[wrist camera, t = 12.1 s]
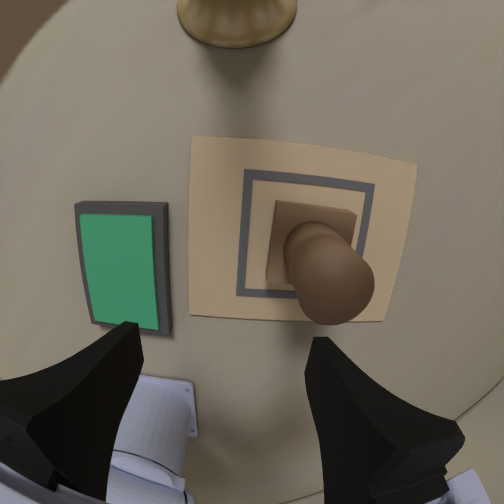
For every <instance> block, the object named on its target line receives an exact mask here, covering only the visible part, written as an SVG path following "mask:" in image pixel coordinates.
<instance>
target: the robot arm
mask: <svg viewBox="0 0 504 504" xmlns="http://www.w3.org/2000/svg"><path fill="white" fill-rule="evenodd" d="M143 362H144V357H143V351H142V345H141V339H140V332H139V324H138V323H136V322H129V321H124V322H123V323H121V324H120V325H118V326H117V327H115V328H114V329H112V330H111V331H110V332H108V333H107V334H105V335H104V336H102V337H101V338H100V339H98V340H97V341H95V342H94V343H92V344H91V345H89V346H88V347H86V348H84V349H83V350H81V351H80V352H78V353H76V354H75V355H73V356H71V357H69V358H68V359H66V360H64V361H62V362H60V363H58V364H55V365H53V366H51V367H48V368H46V369H43V370H40V371H38V372H35V373H32V374H29V375H25V376H22V377H18V378H13V379H8V380H2V381H0V504H197V501H196V499H195V497H194V495H193V493H192V492H191V491H190V490H188V489H184V488H185V481H186V479H184V478H181V477H182V474H183V468H184V462H185V456H186V450H187V444H188V438H189V437H197V436H198V428H197V419H196V409H195V398H194V386H193V384H192V383H191V382H188V381H181V380H173V379H165V378H159V377H152V376H146V375H140V373H141V369H142V365H143ZM304 374H305V383H306V391H307V396H308V400H309V403H310V407H311V411H312V415H313V419H314V422H315V426H316V430H317V434H318V438H319V443H320V451H321V459H322V469H323V482H324V504H491V503H490V501H489V499H488V496H487V494H486V492H485V490H484V488H483V486H482V484H481V482H480V480H479V478H478V476H477V474H476V472H475V470H474V468H470V469H468V470H466V471H464V472H462V473H460V474H457V475H456V476H453V477H452V478H450V479H449V480H447V481H446V480H445V478H444V475H446V474H447V470H446V468H445V465H446V464H447V463H448V462H449V461H450V460H451V459H452V458H453V457H454V456H455V455H456V453H458V451H459V450H460V449H461V448H462V446H463V444H464V442H465V436H464V435H463V433H462V431H461V430H460V428H459V426H458V425H457V423H456V421H453V420H449V419H446V418H443V417H440V416H437V415H434V414H431V413H429V412H426V411H424V410H422V409H419V408H417V407H415V406H413V405H411V404H409V403H407V402H406V401H404V400H402V399H400V398H398V397H397V396H395V395H394V394H392V393H390V392H389V391H388V390H386V389H385V388H383V387H382V386H380V385H379V384H378V383H376V382H375V381H374V380H373V379H371V378H370V377H369V376H368V375H367V374H365V373H364V372H363V371H362V370H361V369H360V368H359V367H358V366H357V365H356V364H354V363H353V362H352V361H351V360H350V359H349V358H348V357H347V356H346V355H345V354H344V353H343V352H342V351H341V350H340V349H339V348H338V347H337V345H336V344H335V343H334V342H333V341H332V340H331V339H330V338H329V337H313V341H312V345H311V349H310V353H309V357H308V361H307V365H306V369H305V372H304ZM187 389H189V390H187Z"/></svg>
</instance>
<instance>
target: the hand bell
mask: <svg viewBox="0 0 504 504" xmlns="http://www.w3.org/2000/svg"><path fill="white" fill-rule="evenodd" d="M296 10H297V0H178V4H177V14H178V18H179V21H180V23H181V25H182V26H183V28H184V29H185V30H186V31H187V32H188V33H189V34H190V35H191V36H193V37H194V38H196V39H198V40H200V41H202V42H204V43H207V44H211V45H214V46H218V47H225V48H242V47H249V46H253V45H257V44H261V43H264V42H267V41H269V40H271V39H273V38H274V37H276V36H278V35H279V34H281V33H282V32H283V31H284V30H285V29H286V28H287V27H288V26H289V25H290V23H291V22H292V20H293V18H294V17H295V13H296Z"/></svg>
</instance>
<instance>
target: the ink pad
mask: <svg viewBox="0 0 504 504" xmlns="http://www.w3.org/2000/svg"><path fill="white" fill-rule="evenodd" d="M74 208H75V222H76V233H77V242H78V251H79V258H80V265H81V272H82V278H83V284H84V289H85V295H86V300H87V305H88V310H89V314H90V319H91V323H92V324H96V325H102V326H107V327H113V328H115V327H117V326H118V325H120V324H121V323H123V322H124V321H129V322H136V323H138V324H139V332H147V333H154V334H162V335H170V332H171V329H172V314H171V299H170V280H169V253H168V202H136V201H81V202H79V203H76V204H74Z"/></svg>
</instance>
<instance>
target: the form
mask: <svg viewBox="0 0 504 504" xmlns="http://www.w3.org/2000/svg"><path fill="white" fill-rule="evenodd" d="M417 168H418V165H416V164H412V163H408V162H404V161H400V160H395V159H391V158H386V157H381V156H376V155H371V154H366V153H361V152H355V151H349V150H343V149H337V148H331V147H324V146H317V145H309V144H301V143H293V142H284V141H273V140H262V139H249V138H232V137H207V136H192V144H191V161H190V184H189V222H188V278H189V314H191V315H202V316H215V317H228V318H244V319H263V320H287V321H312V320H311V319H309V318H308V317H307V316H306V315H305V314H304V313H303V311H302V309H301V307H300V305H299V301H298V298H297V295H296V292H295V289H294V286H293V285H290V284H278V283H267V280H266V265H267V258H268V251H269V243H270V236H271V229H272V221H273V214H274V206H275V200H282V201H290V202H297V203H305V204H312V205H320V206H327V207H333V208H340V209H347V210H350V211H352V212H353V213H355V214H356V215H357V220H356V225H355V230H354V235H353V240H352V244H351V247H352V248H353V249H354V250H355V251H356V252H357V253H358V254H359V255H360V256H361V257H362V258H363V259H364V260H365V261H366V262H367V263H368V265H369V266H370V267H371V269H372V271H373V274H374V279H375V287H374V292H373V296H372V298H371V300H370V302H369V304H368V305H367V307H366V308H365V309H364V310H363V311H362V312H361V313H360V314H359V315H358V316H356V317H355V318H353V319H352V320H350V321H384V318H385V315H386V312H387V309H388V305H389V302H390V299H391V295H392V292H393V288H394V285H395V281H396V277H397V274H398V270H399V266H400V262H401V258H402V253H403V249H404V245H405V240H406V235H407V231H408V226H409V220H410V215H411V209H412V203H413V197H414V191H415V184H416V176H417Z"/></svg>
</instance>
